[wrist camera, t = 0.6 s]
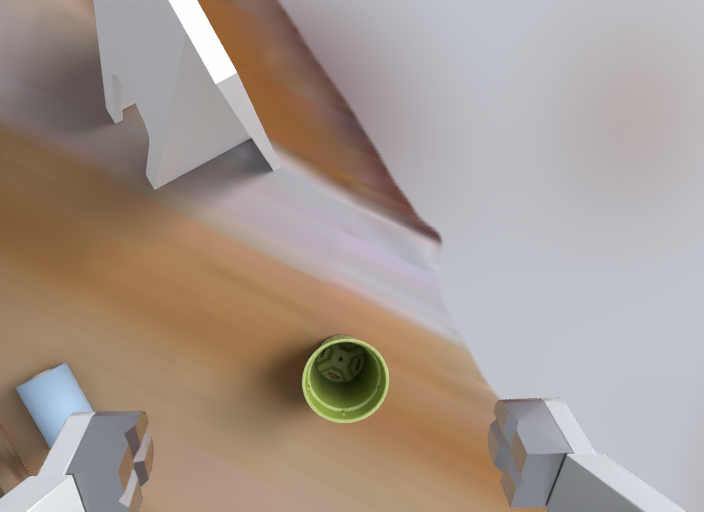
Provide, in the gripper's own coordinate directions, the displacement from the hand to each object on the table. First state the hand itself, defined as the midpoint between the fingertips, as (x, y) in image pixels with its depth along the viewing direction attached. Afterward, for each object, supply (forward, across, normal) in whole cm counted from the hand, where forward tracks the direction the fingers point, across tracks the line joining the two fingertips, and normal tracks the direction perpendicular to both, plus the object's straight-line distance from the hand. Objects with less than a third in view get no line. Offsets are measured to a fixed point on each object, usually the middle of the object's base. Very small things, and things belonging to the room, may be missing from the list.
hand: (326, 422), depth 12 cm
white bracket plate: (+52, -14, -7) cm, 55 cm away
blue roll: (+38, -28, -37) cm, 60 cm away
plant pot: (+40, +4, -33) cm, 52 cm away
